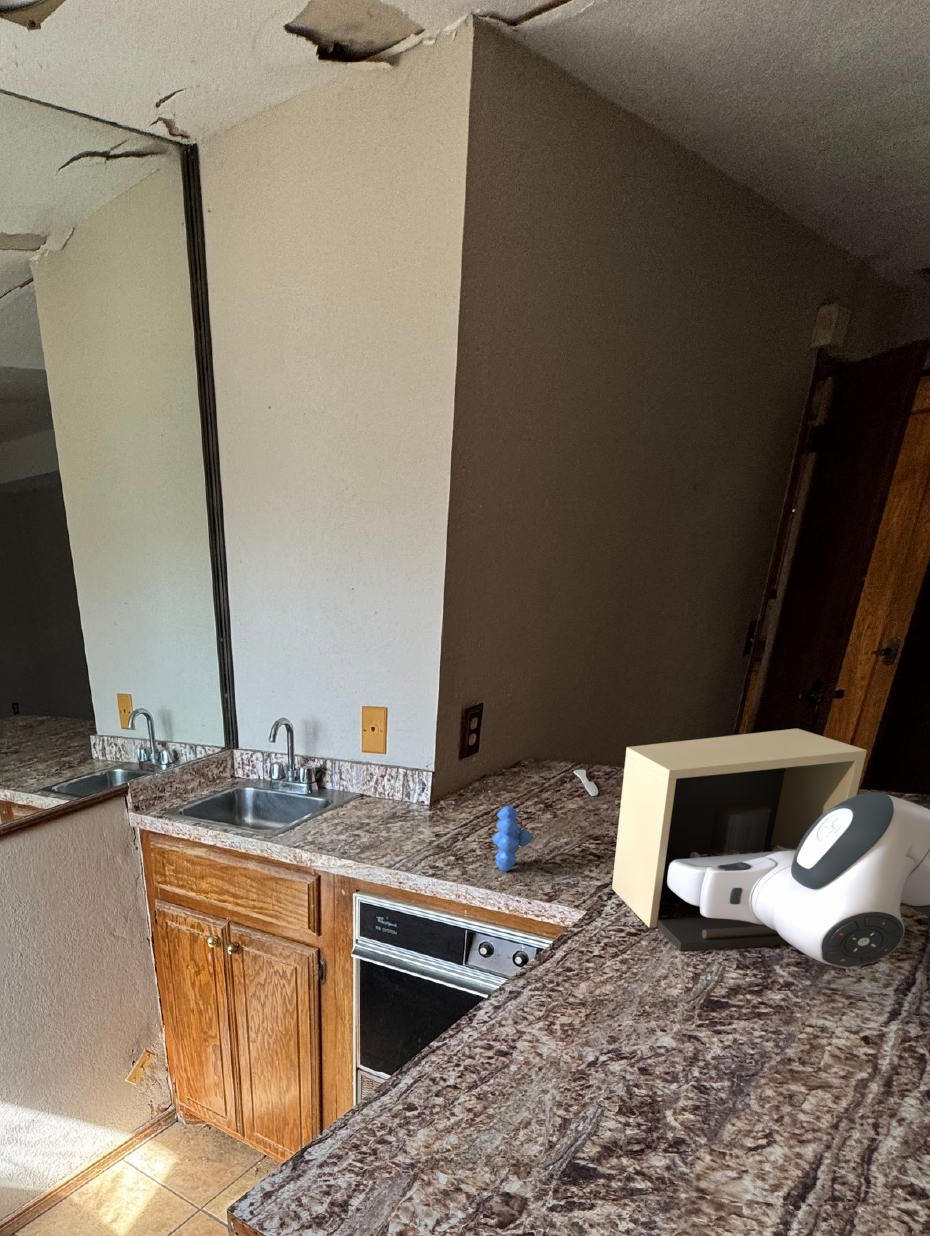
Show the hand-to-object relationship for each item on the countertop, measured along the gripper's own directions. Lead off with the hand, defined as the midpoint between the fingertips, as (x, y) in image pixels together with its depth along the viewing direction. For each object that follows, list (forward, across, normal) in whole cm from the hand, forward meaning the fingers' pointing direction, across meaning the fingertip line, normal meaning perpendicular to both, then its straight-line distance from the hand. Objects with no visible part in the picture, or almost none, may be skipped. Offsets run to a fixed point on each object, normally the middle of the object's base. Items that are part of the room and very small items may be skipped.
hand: (732, 854), depth 107 cm
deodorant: (-1, 0, +9) cm, 9 cm away
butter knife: (+78, -3, +9) cm, 78 cm away
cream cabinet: (0, 0, +9) cm, 9 cm away
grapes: (+24, +24, +9) cm, 35 cm away
